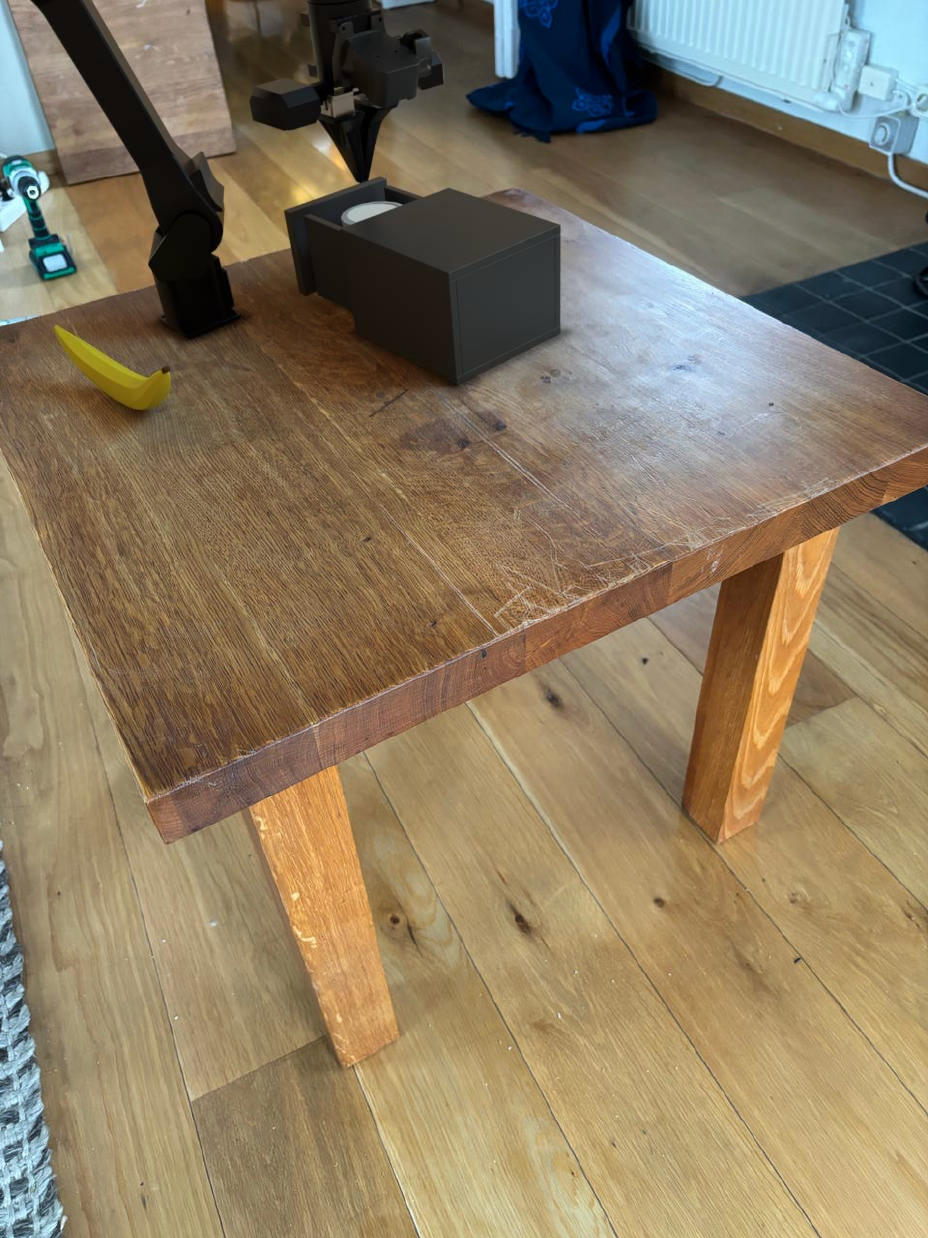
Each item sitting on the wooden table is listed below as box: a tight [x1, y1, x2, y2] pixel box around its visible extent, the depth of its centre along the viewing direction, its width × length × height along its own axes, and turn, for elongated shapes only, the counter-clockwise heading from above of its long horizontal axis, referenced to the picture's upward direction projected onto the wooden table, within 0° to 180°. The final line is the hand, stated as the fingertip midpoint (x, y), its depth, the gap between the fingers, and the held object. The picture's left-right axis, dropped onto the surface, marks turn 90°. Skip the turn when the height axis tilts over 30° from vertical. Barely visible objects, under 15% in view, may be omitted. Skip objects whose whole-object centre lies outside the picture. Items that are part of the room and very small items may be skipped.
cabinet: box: [340, 187, 562, 386], centre depth 93 cm, size 16×14×11 cm
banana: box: [53, 324, 172, 411], centre depth 89 cm, size 3×19×6 cm, turn 48°
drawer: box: [283, 175, 424, 313], centre depth 100 cm, size 19×12×9 cm, turn 42°
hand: (362, 181), depth 96 cm, fingers closed
